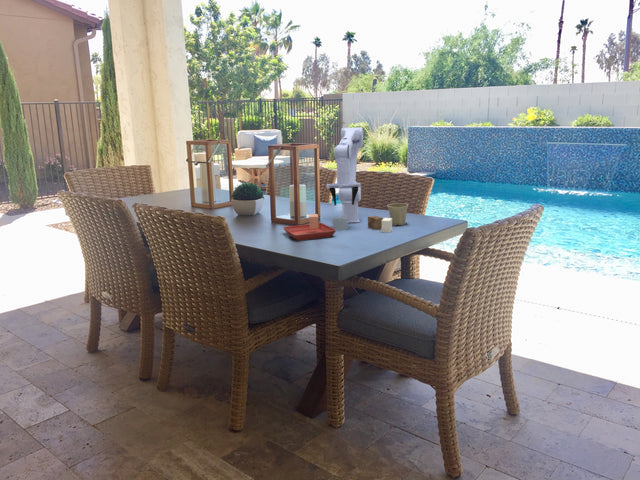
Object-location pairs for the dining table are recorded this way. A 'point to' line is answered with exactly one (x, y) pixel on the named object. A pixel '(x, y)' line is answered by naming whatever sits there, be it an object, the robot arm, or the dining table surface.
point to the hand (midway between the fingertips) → (344, 204)
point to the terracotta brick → (313, 221)
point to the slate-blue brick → (340, 223)
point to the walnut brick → (375, 222)
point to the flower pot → (398, 213)
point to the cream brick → (386, 225)
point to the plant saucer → (309, 231)
